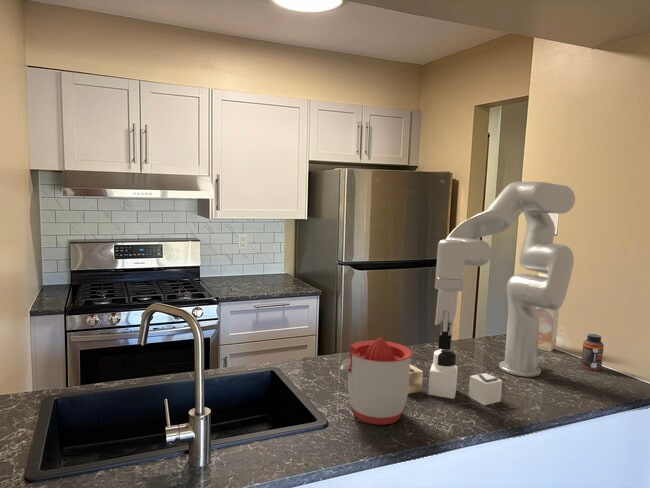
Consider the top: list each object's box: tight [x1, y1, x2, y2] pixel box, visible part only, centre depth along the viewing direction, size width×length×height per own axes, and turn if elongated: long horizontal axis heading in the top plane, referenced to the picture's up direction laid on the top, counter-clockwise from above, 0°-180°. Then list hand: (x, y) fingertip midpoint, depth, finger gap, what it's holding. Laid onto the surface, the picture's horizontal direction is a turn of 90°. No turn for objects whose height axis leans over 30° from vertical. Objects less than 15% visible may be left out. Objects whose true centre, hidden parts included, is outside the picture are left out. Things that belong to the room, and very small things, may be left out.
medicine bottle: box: [427, 348, 459, 400], centre depth 134 cm, size 7×7×12 cm
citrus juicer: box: [340, 337, 413, 426], centre depth 118 cm, size 16×17×20 cm
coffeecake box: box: [535, 306, 560, 353], centre depth 181 cm, size 15×7×20 cm, turn 50°
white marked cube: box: [468, 372, 503, 406], centre depth 131 cm, size 6×6×6 cm
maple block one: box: [408, 364, 424, 395], centre depth 136 cm, size 6×6×6 cm
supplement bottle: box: [581, 333, 605, 372], centre depth 159 cm, size 6×6×11 cm
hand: (444, 348), depth 133 cm, fingers closed
